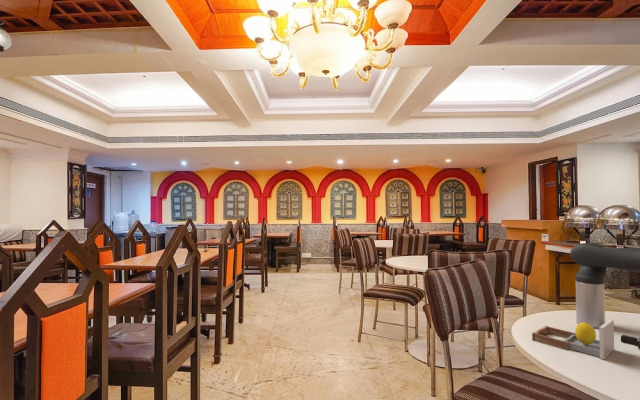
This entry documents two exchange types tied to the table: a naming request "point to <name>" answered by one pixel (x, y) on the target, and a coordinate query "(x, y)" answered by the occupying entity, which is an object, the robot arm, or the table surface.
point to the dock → (551, 341)
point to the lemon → (585, 333)
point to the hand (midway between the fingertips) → (621, 338)
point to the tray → (596, 342)
